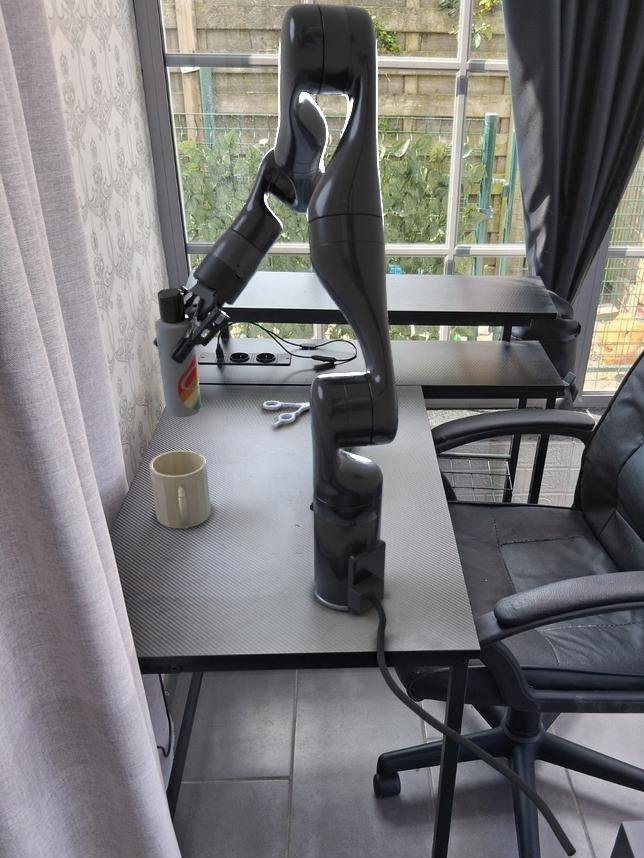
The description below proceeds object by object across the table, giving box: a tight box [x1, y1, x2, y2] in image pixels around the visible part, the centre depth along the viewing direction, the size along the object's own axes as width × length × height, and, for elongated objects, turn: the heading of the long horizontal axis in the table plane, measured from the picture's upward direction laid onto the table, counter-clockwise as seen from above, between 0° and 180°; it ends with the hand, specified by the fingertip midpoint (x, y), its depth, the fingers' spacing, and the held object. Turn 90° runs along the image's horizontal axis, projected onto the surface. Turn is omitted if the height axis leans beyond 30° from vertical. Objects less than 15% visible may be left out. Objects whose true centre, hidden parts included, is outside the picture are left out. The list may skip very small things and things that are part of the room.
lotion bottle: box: [154, 287, 202, 418], centre depth 126 cm, size 6×6×20 cm
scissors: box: [262, 400, 310, 428], centre depth 165 cm, size 11×1×20 cm
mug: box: [148, 449, 211, 529], centre depth 126 cm, size 12×9×10 cm
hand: (166, 353), depth 125 cm, fingers closed on lotion bottle, 5 cm apart
